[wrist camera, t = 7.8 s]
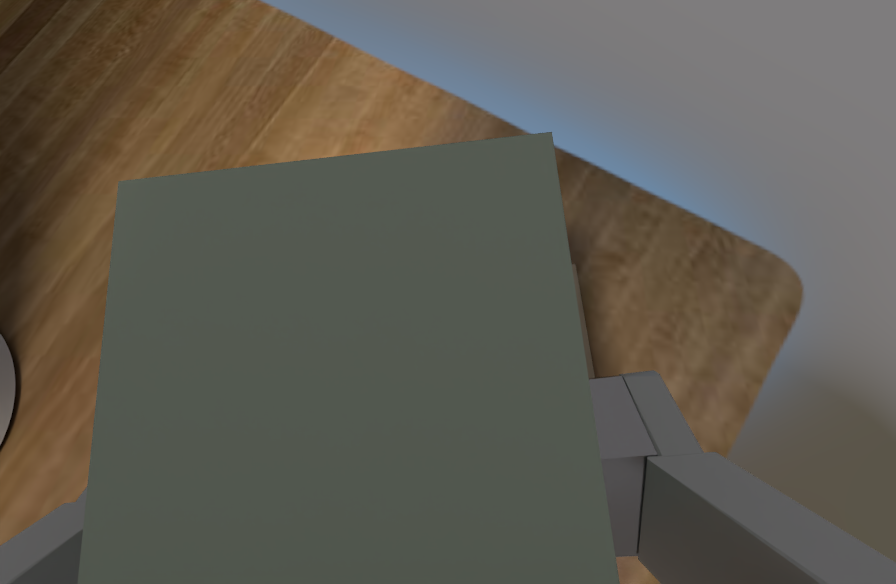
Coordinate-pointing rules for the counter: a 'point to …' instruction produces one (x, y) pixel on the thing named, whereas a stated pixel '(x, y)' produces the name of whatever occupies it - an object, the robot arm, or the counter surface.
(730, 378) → the counter surface
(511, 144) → the green block
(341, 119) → the counter surface
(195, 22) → the counter surface
